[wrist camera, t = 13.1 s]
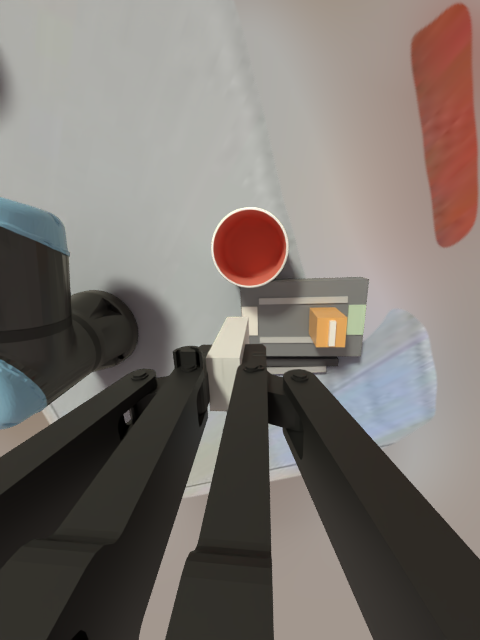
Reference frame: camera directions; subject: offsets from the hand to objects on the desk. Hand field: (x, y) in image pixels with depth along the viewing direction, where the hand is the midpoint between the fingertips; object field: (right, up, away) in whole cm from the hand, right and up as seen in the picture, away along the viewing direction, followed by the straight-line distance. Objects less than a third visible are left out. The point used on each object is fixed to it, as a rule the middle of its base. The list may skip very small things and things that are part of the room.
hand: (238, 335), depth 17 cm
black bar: (+10, -6, +29) cm, 31 cm away
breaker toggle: (+13, +1, +23) cm, 26 cm away
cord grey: (+9, -8, +29) cm, 32 cm away
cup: (+2, +13, +24) cm, 27 cm away
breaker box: (+11, +2, +26) cm, 28 cm away
